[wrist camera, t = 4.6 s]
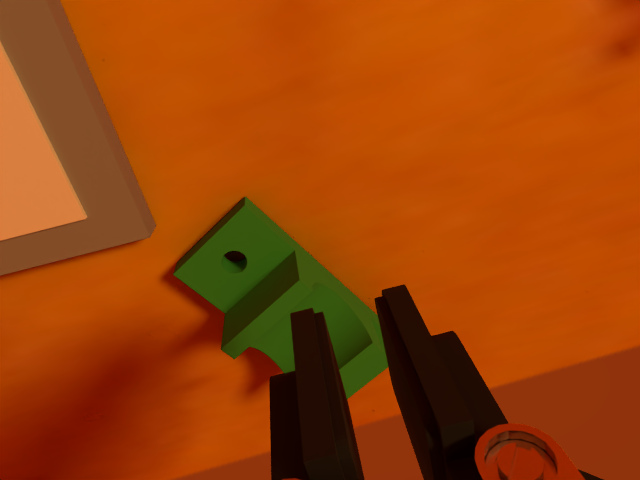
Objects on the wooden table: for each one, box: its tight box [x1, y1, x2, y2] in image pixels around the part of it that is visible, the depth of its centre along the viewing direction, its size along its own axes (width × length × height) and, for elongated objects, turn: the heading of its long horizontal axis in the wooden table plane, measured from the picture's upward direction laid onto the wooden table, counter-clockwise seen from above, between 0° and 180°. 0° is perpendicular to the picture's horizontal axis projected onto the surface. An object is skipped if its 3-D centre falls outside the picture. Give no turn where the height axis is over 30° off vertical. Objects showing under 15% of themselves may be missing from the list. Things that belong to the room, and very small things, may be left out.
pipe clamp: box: [173, 196, 388, 399], centre depth 21 cm, size 11×4×5 cm
